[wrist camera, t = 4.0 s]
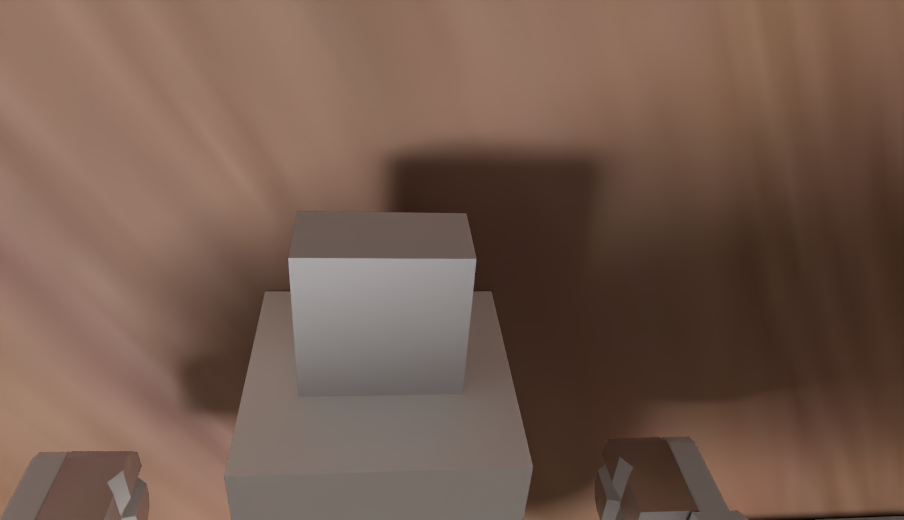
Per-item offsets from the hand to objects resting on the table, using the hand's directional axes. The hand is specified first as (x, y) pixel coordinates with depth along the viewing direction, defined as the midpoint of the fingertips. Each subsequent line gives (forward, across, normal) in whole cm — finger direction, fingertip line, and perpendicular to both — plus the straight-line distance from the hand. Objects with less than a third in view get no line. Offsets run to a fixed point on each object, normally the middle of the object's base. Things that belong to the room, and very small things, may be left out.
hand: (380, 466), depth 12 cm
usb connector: (+2, 0, 0) cm, 2 cm away
